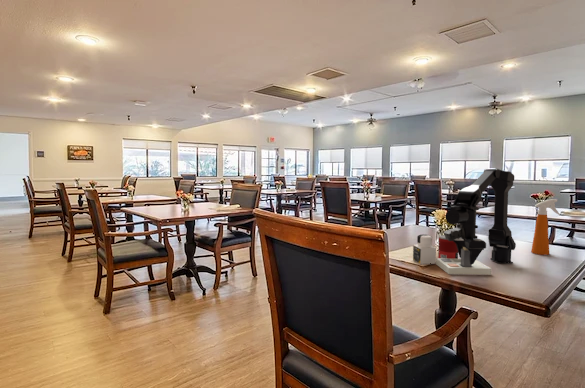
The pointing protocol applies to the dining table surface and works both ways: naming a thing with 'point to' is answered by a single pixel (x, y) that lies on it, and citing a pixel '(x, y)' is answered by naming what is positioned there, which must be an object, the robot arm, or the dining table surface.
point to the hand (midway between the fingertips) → (466, 260)
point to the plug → (465, 258)
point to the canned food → (447, 248)
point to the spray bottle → (542, 228)
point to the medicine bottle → (424, 250)
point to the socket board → (454, 267)
